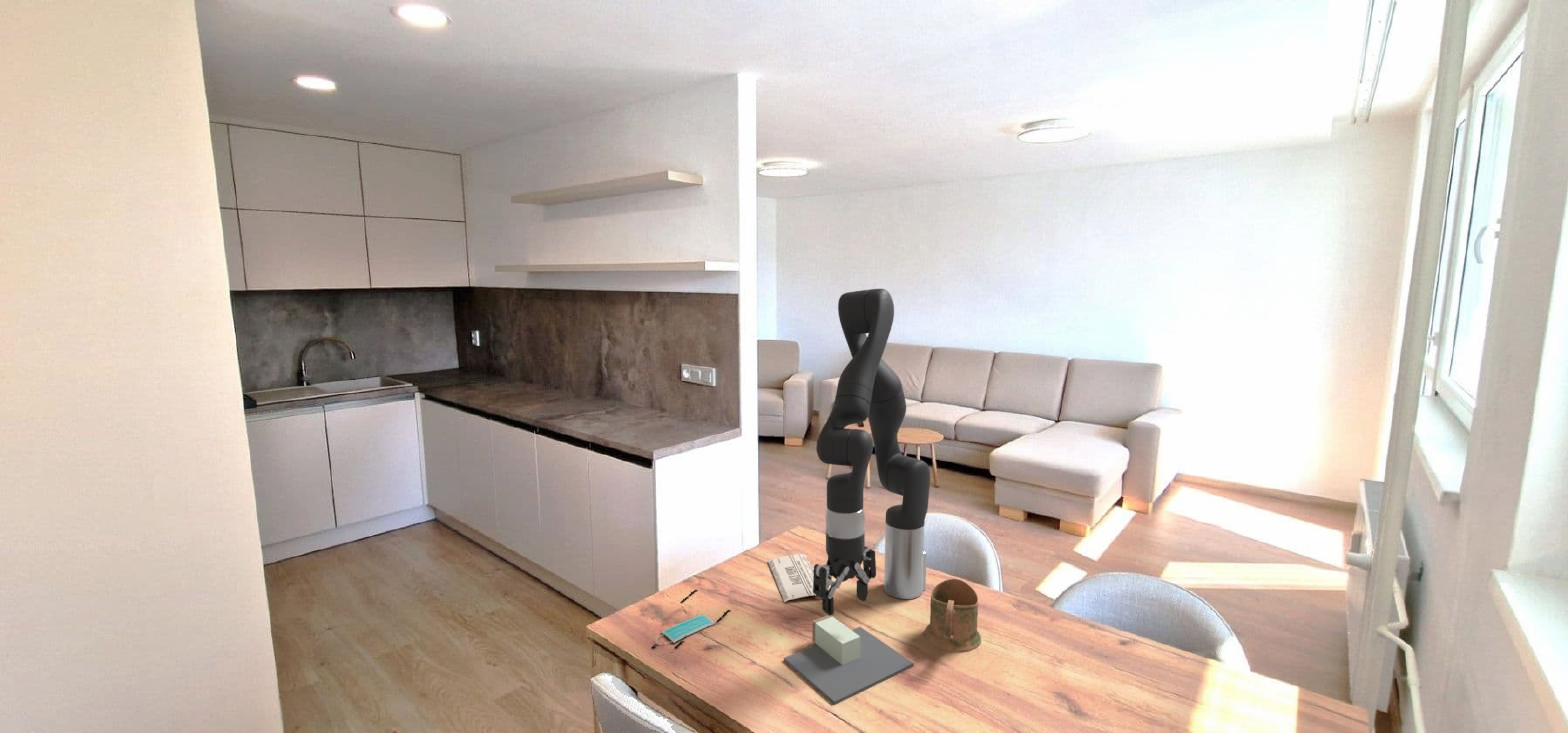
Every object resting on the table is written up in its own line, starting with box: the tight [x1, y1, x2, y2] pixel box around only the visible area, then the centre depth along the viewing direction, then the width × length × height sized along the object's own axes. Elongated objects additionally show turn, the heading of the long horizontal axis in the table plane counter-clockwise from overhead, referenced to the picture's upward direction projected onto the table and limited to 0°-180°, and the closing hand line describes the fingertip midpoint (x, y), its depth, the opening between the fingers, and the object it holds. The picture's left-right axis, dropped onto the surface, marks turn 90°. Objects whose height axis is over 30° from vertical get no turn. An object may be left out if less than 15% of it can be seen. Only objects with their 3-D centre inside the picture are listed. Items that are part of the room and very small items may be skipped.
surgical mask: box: [650, 589, 732, 650], centre depth 140 cm, size 21×4×10 cm
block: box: [811, 614, 860, 665], centre depth 131 cm, size 4×4×10 cm
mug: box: [924, 578, 982, 653], centre depth 134 cm, size 12×18×12 cm, turn 160°
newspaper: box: [767, 553, 830, 604], centre depth 163 cm, size 23×12×2 cm, turn 12°
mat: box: [783, 626, 915, 705], centre depth 128 cm, size 20×16×1 cm
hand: (845, 606), depth 128 cm, fingers open, 8 cm apart
